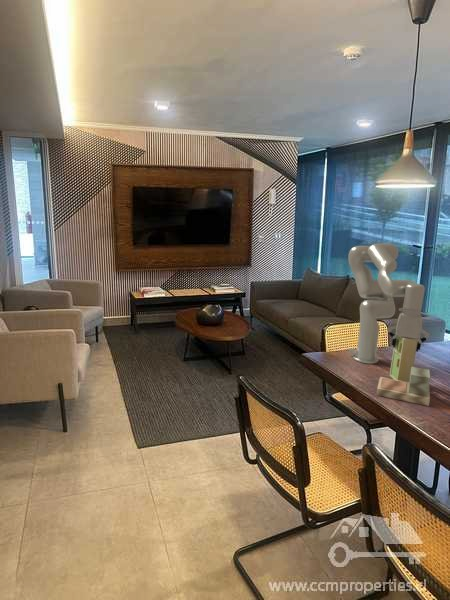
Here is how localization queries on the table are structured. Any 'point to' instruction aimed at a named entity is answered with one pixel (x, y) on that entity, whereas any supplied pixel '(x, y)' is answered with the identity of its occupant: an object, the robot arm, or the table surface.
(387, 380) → the board
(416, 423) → the table surface
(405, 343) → the toy refrigerator
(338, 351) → the table surface
